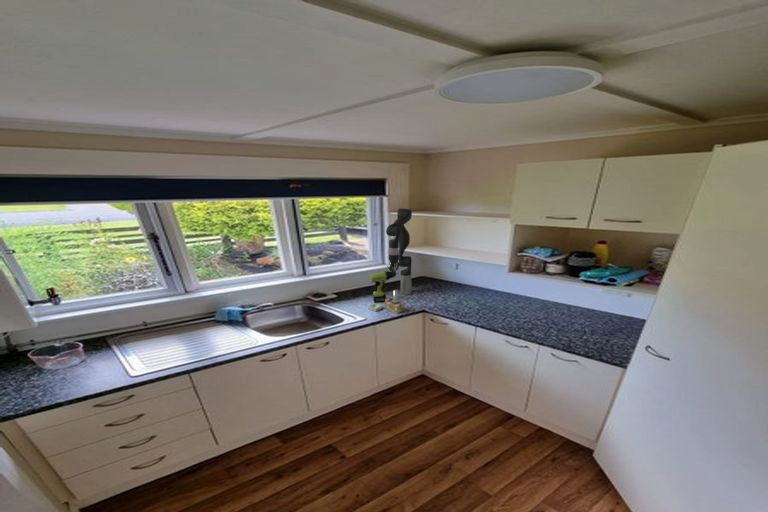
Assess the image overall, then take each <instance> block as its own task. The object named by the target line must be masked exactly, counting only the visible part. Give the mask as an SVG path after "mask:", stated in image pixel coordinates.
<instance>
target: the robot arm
mask: <svg viewBox="0 0 768 512" xmlns="http://www.w3.org/2000/svg"><path fill="white" fill-rule="evenodd" d="M396 215H397V219H396V220H394V222H393V223H391V224H389V225H388V226H387V227H386V230H385V233H386V235H387V236H388V237H394V238H391V239H389V241H388V261H389V264H388V265H387V266H386V267H387V269H388V270H389V272H391V271H392V276H393V278H395V277H397V274H396V273H397V271H398V270H399V267H401V268H405V269H402V270H400V294H401V295H404V296H408V295H410V294H412V292H413V291H412V289H413V288H412V287H413V286H412V285H413V283H412V262H413V261H412V260H413V259H412V257H411V255H410V256H409V255H408V256H407V255H405V256H404V253H405V251H406V249H407V248H408V246H409V245H410V242H411V241H410V239H411V238H410V233H409V231H408V229H407V228H406V226H405V225H406V224H407V223H408V222H410V220H411V219H412V215H413V213H412V210H411V209H409V208H398V210H397V213H396Z"/></svg>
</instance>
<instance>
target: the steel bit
mask: <svg viewBox="0 0 768 512" xmlns="http://www.w3.org/2000/svg"><path fill="white" fill-rule="evenodd" d="M392 291H393V292H392V293H393V294H392V297H393V299H392V300H393V304H398V301H399V297H398V289H393V290H392Z"/></svg>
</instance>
